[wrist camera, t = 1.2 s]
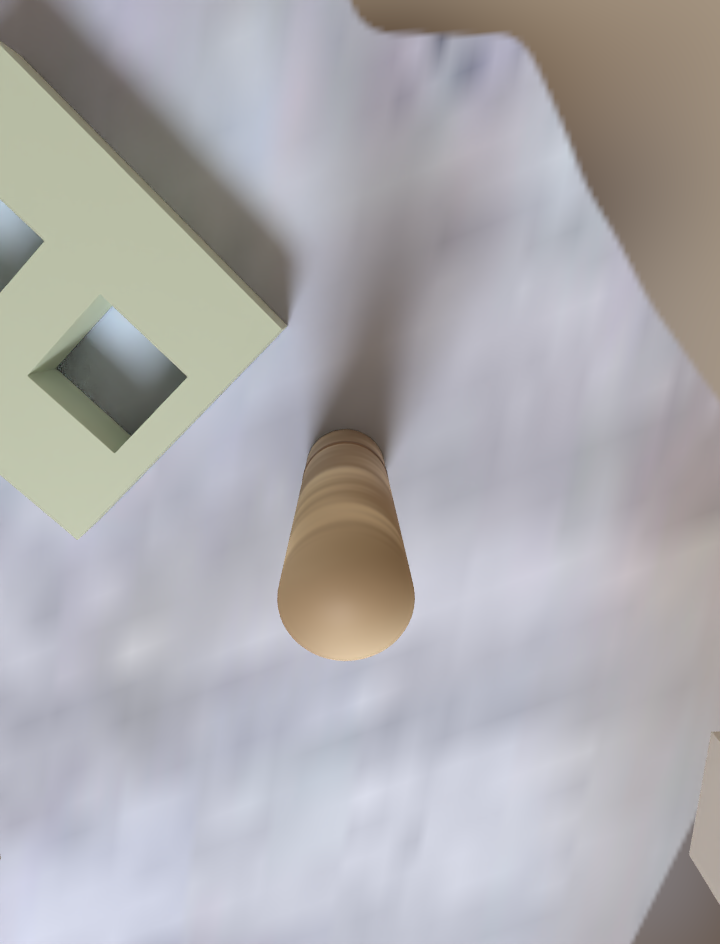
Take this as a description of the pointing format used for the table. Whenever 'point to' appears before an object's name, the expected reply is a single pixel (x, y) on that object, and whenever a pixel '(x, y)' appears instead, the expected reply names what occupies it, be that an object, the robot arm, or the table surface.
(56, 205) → the board
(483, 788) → the table surface
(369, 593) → the peg
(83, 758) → the table surface
